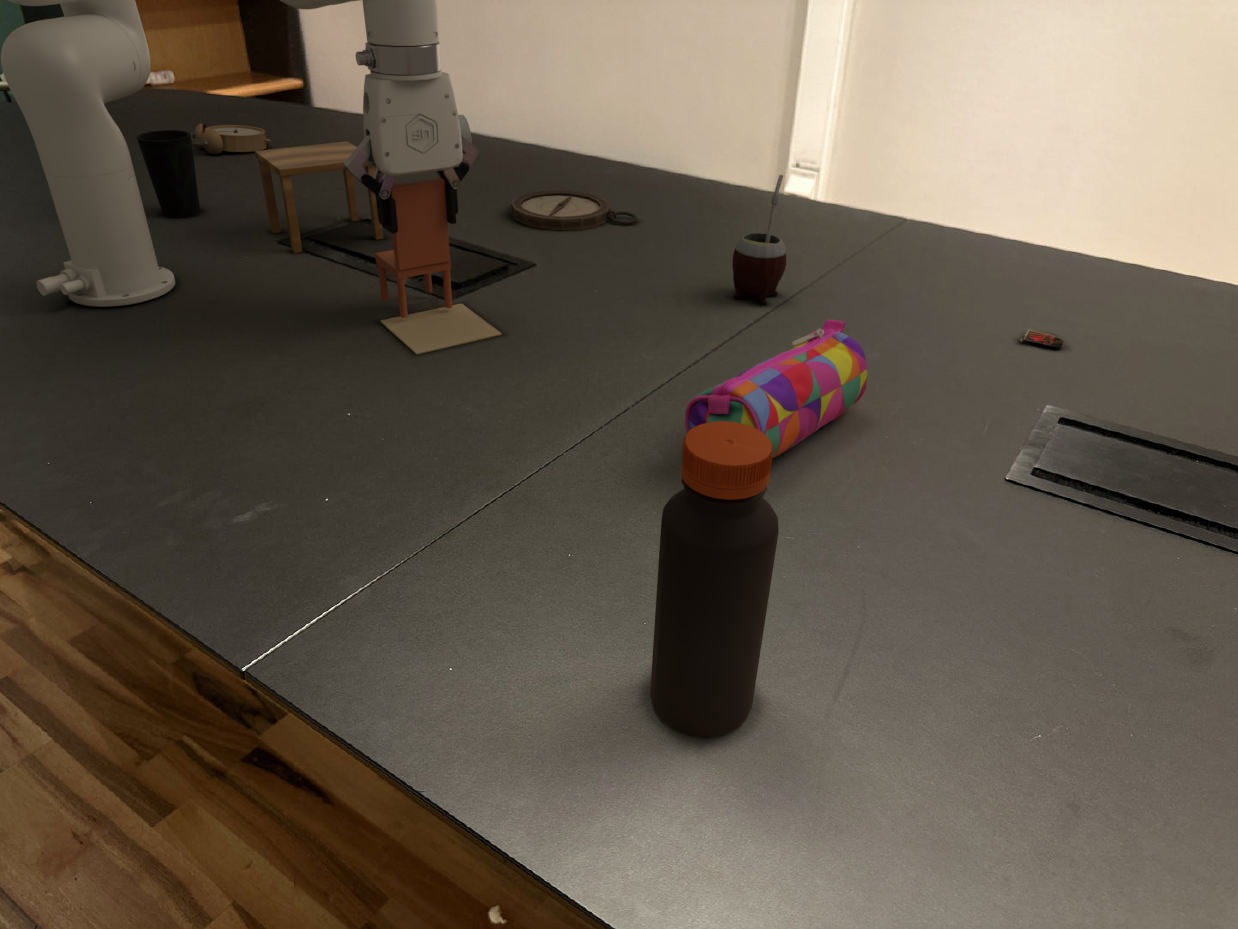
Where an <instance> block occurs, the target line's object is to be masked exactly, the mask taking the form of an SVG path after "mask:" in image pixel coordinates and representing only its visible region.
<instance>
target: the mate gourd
mask: <svg viewBox="0 0 1238 929" xmlns="http://www.w3.org/2000/svg"><path fill="white" fill-rule="evenodd" d="M783 179H784V175H783V174H779V175H778V178H777V181H776V186H775V188H774V193H773V195H772V197H771V202H770V203H771V207H770V212H769V219H768V224H767V229H766V233H765V232H752V233H747V234H745V235H743V236H741V237H740V238H739V240H738V241H737V243H736V244H735V248H734V250H733V253H732V265H731V267H732V278H733V287H734V293H733V294H732V298H733V300H748V299H753V300H754V301H756V302H757V303H758V304H759V305H760V306H767V304H768V301H767V300H766V298H769V297H770V298H773V297H777V296H778V292H777V287H778V285H779V283H780V281H781V280H782V278H783V276H784V273H785V271H786V268H787V267H786V266H787V248H786V246H785V243H784V242H783V240H782V239H781V238H780V237H779V236H777V235H774V234H772V231H773V230H772V229H773V225H774V220H775V214H776V210H777V209H776V208H777V205H778V201H779V193H780V189H781V185H782V182H783Z"/></svg>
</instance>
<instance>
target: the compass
mask: <svg viewBox="0 0 1238 929" xmlns="http://www.w3.org/2000/svg"><path fill="white" fill-rule="evenodd" d="M510 206H511V209H510V210H511V215H512V217H513V219H514V221H517V222H518V223H521V224H523V225H525V226H528V227H532V228H537V229H542V230H552V231H578V230H586V229H590V228H595V227H598V226H601V225H602V224H605V223H606V222H608V221H610V222H614V223H616V224H620V225H633V224H636V223H637V221H638V217H637V215H636V214H634V213H632V212H629V211H623V210H621V211H614V210H611V204H610V203H609V202H608V201H607V199H605V198H603V197H601V196H598V195H595V194H594V193H589V192H583V191H578V190H565V189H551V190H549V189H547V190H546V189H545V190H537V191H531V192H526V193H523V194H521V195H518V196H516V197H515V198H514V199H513V200H512V201H511V204H510ZM618 216H627V217H632V218H633V219H632V220H620V219H617V218H618Z"/></svg>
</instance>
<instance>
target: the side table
mask: <svg viewBox="0 0 1238 929" xmlns="http://www.w3.org/2000/svg"><path fill="white" fill-rule="evenodd" d="M357 147H358V146H357V145H354V144H353V143H351V142H349V141H340V142H339V141H337V142H329V143H321V144H320V143H319V144H310V145H301V146H300V145H299V146H292V147H282V148H281V147H280V148H272V149H271V148H270V149H263V150H259V151H254V153H255V158H256V159H257V160H258V165H259V172H260V177H261V182H262V187H263V194H264V199H265V203H266V204H265V205H266V209H267V215H268V222H269V226H270V231H271V233H272V234H278V233H281V232H282V229H281V223H280V217H279V211H278V207H277V200H276V195H275V189H274V183H273V176H272V172H271V171H273V172H274V173H275V174H276V175H278V176H279V182H280V187H281V194H282V200H283V205H284V211H285V217H286V223H287V229H288V235H289V240H290V245H291V246H290V247H291V251H292V252H293V254H298V253H303V244H302V239H301V233H300V226H299V221H298V215H297V214H298V213H297V210H296V209H297V208H296V202H295V197H294V190H293V184H292V178H291V176H298V175H307V174H308V175H309V174H313V173H314V174H315V173H323V172H331V171H332V172H333V171H341V170H342V174H343V180H344V188H345V189H344V190H345V196H346V203H347V213H348V219H349V220H350V221H351V222H359V221H360V218H359V210H358V202H357V201H358V200H357V194H356V186H355V177H354V176H353V175H352V174H351V173H350V172H349V171H348V170H346V169H345V167H344V163H345V161H346V160H347V159H348V158H349V156H350V155H351V154H352V153H353V152H354V150H355V149H356V148H357ZM363 168H364V170H365V171H366V172H367V173H368V174H369V175H370V176H372V177H373V178H374V175H375V172H376V167H373V166H371V165H369V163H368V161H367V160H366V162H365V163H364V164H363ZM367 195H368V204H369V211H370V212H369V213H370V221H371V228H372V236H373V239H375V240H376V241H377V240H384V230H383V229H384V228H383V225H381V224H380V223H379V220H378V213H377V204H376V195H375V194H374V193H373V192H372V191H371V190H369V189H368V188H367Z"/></svg>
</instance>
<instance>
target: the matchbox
mask: <svg viewBox="0 0 1238 929" xmlns="http://www.w3.org/2000/svg"><path fill="white" fill-rule="evenodd" d="M1023 336H1024V337H1021V338H1020V339H1019V340H1020V341H1019V342H1020V343H1021V344H1023V342H1024V340H1025V341H1027V342H1029V343H1030V342H1032V343H1035V344H1036V343H1037V344H1040V345H1041V344H1042V345H1045V346H1048V347H1052V348H1059V349H1061V348H1064V345H1065V340H1063V338H1062V337H1059V336H1057V335H1055V334H1054V333H1053V334H1052V332H1041V331H1036V330H1033V329H1027V331H1026V332H1025V333H1024V334H1023Z"/></svg>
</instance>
